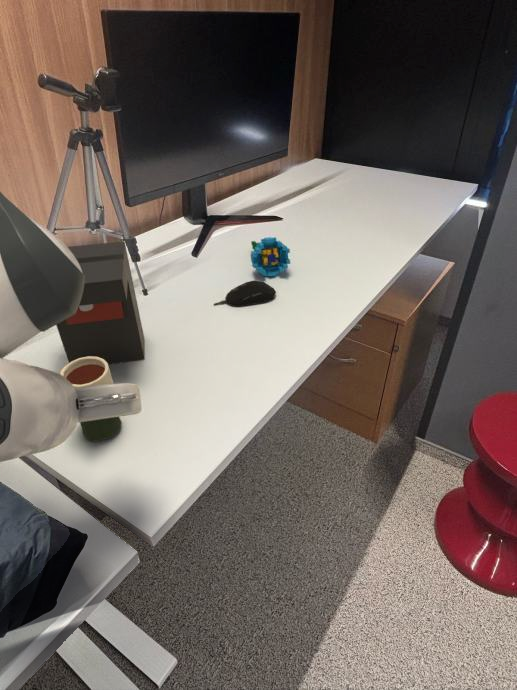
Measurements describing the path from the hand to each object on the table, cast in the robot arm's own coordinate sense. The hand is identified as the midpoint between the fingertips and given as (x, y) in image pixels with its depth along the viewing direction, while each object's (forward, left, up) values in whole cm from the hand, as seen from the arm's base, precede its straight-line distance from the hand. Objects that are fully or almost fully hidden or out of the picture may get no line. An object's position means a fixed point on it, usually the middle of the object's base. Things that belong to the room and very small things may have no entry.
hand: (68, 410), depth 63 cm
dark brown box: (+1, +27, -15) cm, 31 cm away
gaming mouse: (+31, +45, -15) cm, 56 cm away
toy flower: (+39, +61, -15) cm, 74 cm away
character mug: (+1, +10, -15) cm, 18 cm away
